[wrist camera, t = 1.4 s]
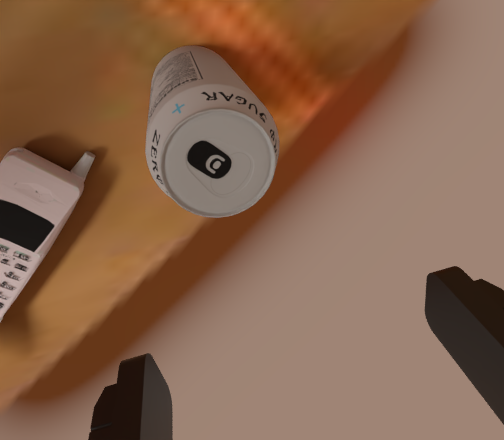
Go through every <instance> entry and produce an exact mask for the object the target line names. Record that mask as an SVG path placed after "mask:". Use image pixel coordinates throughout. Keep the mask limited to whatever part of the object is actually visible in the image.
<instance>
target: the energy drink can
mask: <svg viewBox="0 0 504 440" xmlns="http://www.w3.org/2000/svg"><path fill="white" fill-rule="evenodd" d="M145 152H146V159H147V165H148V167H149V170H150V172H151V175H152V177H153V179H154V180H155V182H156V183H157V185H158V186H159V187H160V188H161V189H162V191H163V192H164V193H165V194H166V195H167V196H169V197H170V198H172V199H173V200H174V201H175V202H176V203H177V204H178V205H180V206H181V207H182V208H184V209H185V210H187V211H189V212H191V213H194V214H196V215H200V216H204V217H214V218H218V217H227V216H231V215H235V214H238V213H240V212H242V211H244V210H247V209H248V208H249V207H251V206H252V205H254V204H255V203H256V202H257V201H258V200H259V199H260V198H261V197H262V196H263V195H264V194H265V192H266V191H267V189H268V188H269V186H270V184H271V182H272V179H273V177H274V172H275V168H276V164H277V160H278V155H279V136H278V131H277V127H276V125H275V122H274V120H273V117H272V116H271V114H270V113H269V111H268V110H267V108H266V107H265V106H264V104H263V103H262V102H261V101H260V100H259V99H258V98H257V96H256V95H255V94H254V93H253V92H252V91H251V90H250V89H249V87H248V86H247V85H246V84H245V83H244V82H243V81H242V79H241V78H240V77H239V76H238V75H237V74H236V73H235V71H234V70H233V69H232V68H231V67H230V66H229V65H228V64H227V62H226V61H225V60H224V59H223V58H222V57H221V56H220V55H218V54H217V53H215V52H214V51H212V50H210V49H208V48H205V47H201V46H196V45H194V46H183V47H180V48H177V49H175V50H173V51H171V52H169V53H168V54H167V55H166V56H164V57H163V58H162V60H161V61H160V62H159V63H158V65H157V67H156V69H155V71H154V74H153V78H152V84H151V94H150V104H149V114H148V124H147V134H146V149H145Z"/></svg>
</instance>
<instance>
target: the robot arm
mask: <svg viewBox="0 0 504 440" xmlns="http://www.w3.org/2000/svg"><path fill="white" fill-rule="evenodd" d="M425 315H426V319H427V322H428V324H429V326H430V328H431V330H432V331H433V333H434V334H435V335H436V337H437V338H438V339H439V341H440V342H441V343H442V344H443V346H444V347H445V348H446V350H447V351H448V352H449V354H450V355H451V356H452V358H453V359H454V360H455V361H456V363H457V364H458V365H459V367H460V368H461V369H462V371H463V372H464V373H465V375H466V376H467V377H468V379H469V380H470V381H471V382H472V384H473V385H474V386H475V388H476V389H477V390H478V392H479V393H480V394H481V395H482V397H483V398H484V399H485V401H486V402H487V403H488V405H489V406H490V407H491V409H492V410H493V411H494V413H495V414H496V415H497V416H498V418H499V419H500V420H501V421H502V423H503V424H504V290H502V289H501V288H499V287H497V286H495V285H493V284H490V283H489V282H487V281H485V280H483V279H479V280H476V281H473V280H472V279H471V278H470V277H469V276H468V275H467V274H466V273H465V272H464V271H463V270H462V269H461V268H459V267H457V266H454V267H450V268H446V269H443V270H439V271H436V272H433V273H429V274H428V276H427V283H426V299H425ZM88 440H172V400H171V395H170V391H169V388H168V385H167V383H166V381H165V379H164V377H163V376H162V374H161V372H160V370H159V368H158V366H157V365H156V363H155V361H154V359H153V357H152V356H151V354H149V353H147V354H144V355H141V356H137V357H133V358H130V359H126V360H123V361H121V363H120V365H119V371H118V378H117V384H114V385H110V386H107V387H105V388H104V390H103V392H102V394H101V396H100V397H99V399H98V401H97V403H96V405H95V407H94V412H93V417H92V423H91V432H90V434H89V439H88Z"/></svg>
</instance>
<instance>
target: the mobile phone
mask: <svg viewBox="0 0 504 440" xmlns="http://www.w3.org/2000/svg"><path fill="white" fill-rule="evenodd" d="M94 158H95V155H94V154H92V153H91V152H88V151H86V152H85V154H84V155H83V156H82V157H81V159H80V160H79V161H78V162H77V163H76V165H75V166H74V167H73V168H72V169H71V171H70V172H69V171H67V170H65V169H64V168H62V167H60V166H58V165H56V164H54V163H52V162H50V161H48V160H46V159H44V158H42V157H40V156H38V155H36V154H34V153H32V152H31V151H29V150H27V149H25V148H23V147H16V148H13V149H11V150H10V151H9V152H8V153H7V154H6V155H5V156H4V158H3V159H2V161H1V163H0V322H1V321H2V319H3V316H4V314H5V313H6V312H7V310H8V309H9V307H10V306H11V304H12V303H13V302H14V301H15V300H16V298H17V297H18V295H19V294H20V293H21V291H22V290H23V288H24V287H25V285H26V284H27V282H28V281H29V280H30V278H31V277H32V275H33V274H34V272H35V271H36V269H37V268H38V266H39V265H40V263H41V262H42V260H43V259H44V257H45V256H46V254H47V253H48V251H49V250H50V248H51V247H52V245H53V243H54V242H55V240H56V238H57V237H58V235H59V233H60V231H61V230H62V228H63V226H64V225H65V223H66V221H67V220H68V218H69V216H70V215H71V213H72V211H73V210H74V208H75V206H76V203H77V201H78V199H79V198H80V196H81V194H82V192H83V190H84V183H83V182H84V181H85V179H86V176H87V173H88V171H89V169H90V167H91V165H92V163H93V160H94Z"/></svg>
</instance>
